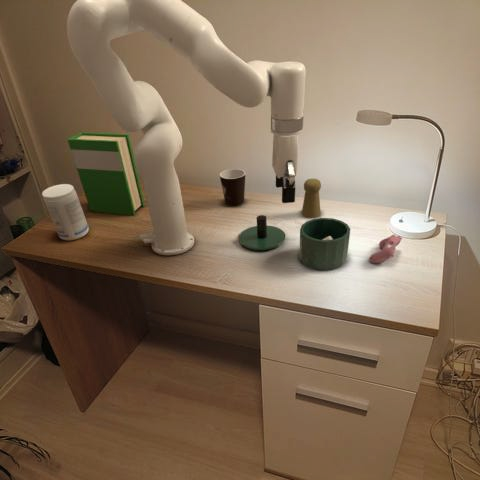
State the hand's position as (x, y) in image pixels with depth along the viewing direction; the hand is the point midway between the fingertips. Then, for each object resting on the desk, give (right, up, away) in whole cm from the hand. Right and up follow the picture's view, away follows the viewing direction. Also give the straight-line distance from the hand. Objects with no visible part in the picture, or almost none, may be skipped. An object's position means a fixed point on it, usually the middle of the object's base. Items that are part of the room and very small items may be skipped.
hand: (284, 194), depth 108 cm
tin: (+11, -16, +5) cm, 20 cm away
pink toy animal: (+27, -16, +3) cm, 32 cm away
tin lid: (-5, -9, +14) cm, 17 cm away
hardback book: (-55, +6, +37) cm, 66 cm away
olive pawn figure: (+11, +1, +25) cm, 27 cm away
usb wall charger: (+10, -14, +3) cm, 18 cm away
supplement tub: (-65, -5, +25) cm, 70 cm away
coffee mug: (-13, +9, +36) cm, 39 cm away
